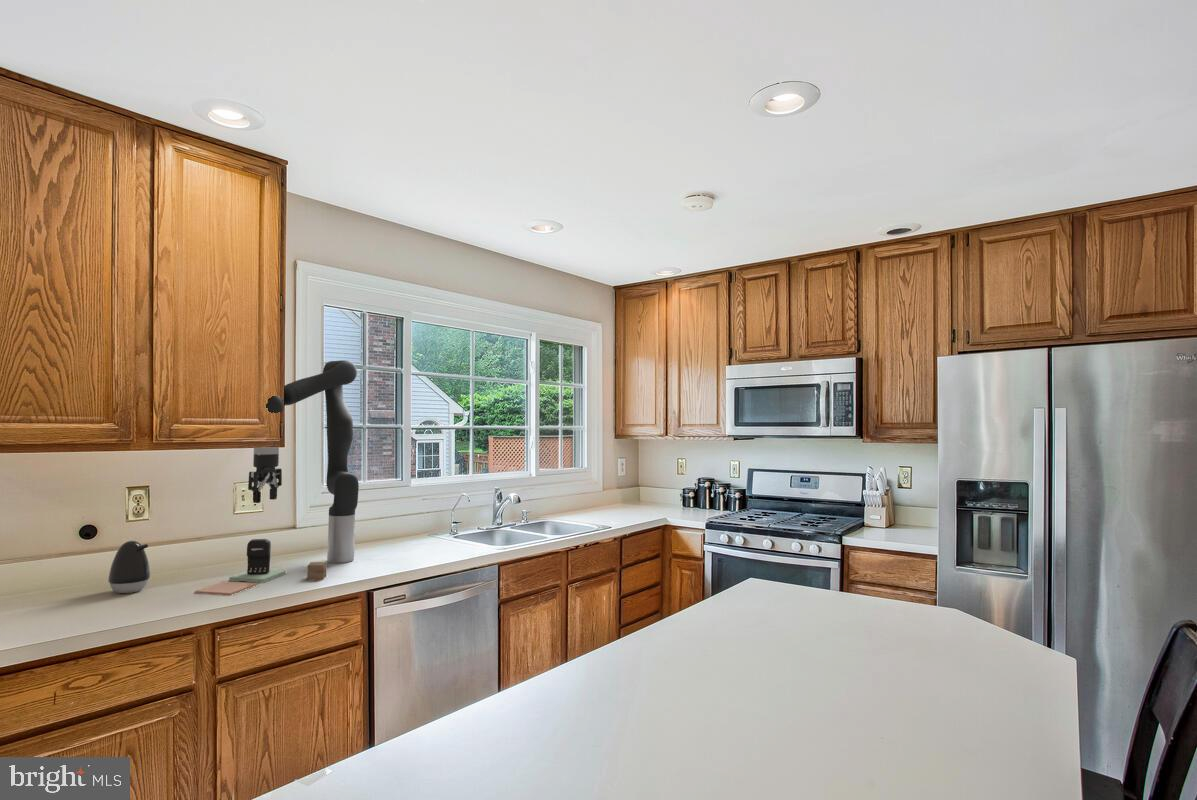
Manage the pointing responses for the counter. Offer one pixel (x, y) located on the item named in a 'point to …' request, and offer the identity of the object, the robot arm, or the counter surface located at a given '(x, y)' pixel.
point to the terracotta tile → (226, 588)
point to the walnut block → (316, 570)
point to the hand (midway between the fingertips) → (265, 501)
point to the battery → (259, 556)
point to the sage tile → (257, 576)
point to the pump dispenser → (129, 568)
